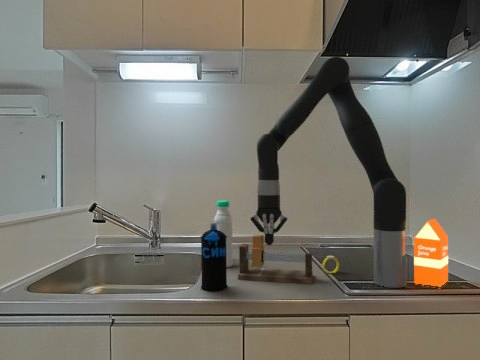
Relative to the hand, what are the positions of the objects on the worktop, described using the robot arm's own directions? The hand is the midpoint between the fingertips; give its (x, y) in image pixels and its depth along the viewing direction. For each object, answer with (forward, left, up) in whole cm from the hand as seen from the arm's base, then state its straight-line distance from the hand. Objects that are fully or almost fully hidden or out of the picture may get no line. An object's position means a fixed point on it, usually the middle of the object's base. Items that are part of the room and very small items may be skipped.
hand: (269, 244), depth 127 cm
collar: (+4, 0, -7) cm, 8 cm away
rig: (-2, 0, -11) cm, 11 cm away
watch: (-20, -10, -11) cm, 25 cm away
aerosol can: (+15, +15, -11) cm, 24 cm away
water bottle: (+20, -12, -11) cm, 26 cm away
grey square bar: (-2, 0, -5) cm, 6 cm away
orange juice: (-51, -4, -11) cm, 53 cm away
